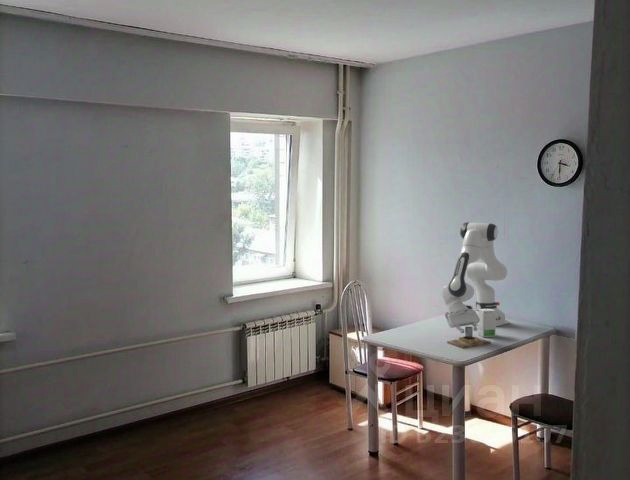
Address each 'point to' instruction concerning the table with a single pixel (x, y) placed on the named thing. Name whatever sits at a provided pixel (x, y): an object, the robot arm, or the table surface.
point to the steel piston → (468, 333)
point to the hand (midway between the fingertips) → (469, 331)
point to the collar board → (468, 342)
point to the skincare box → (487, 323)
